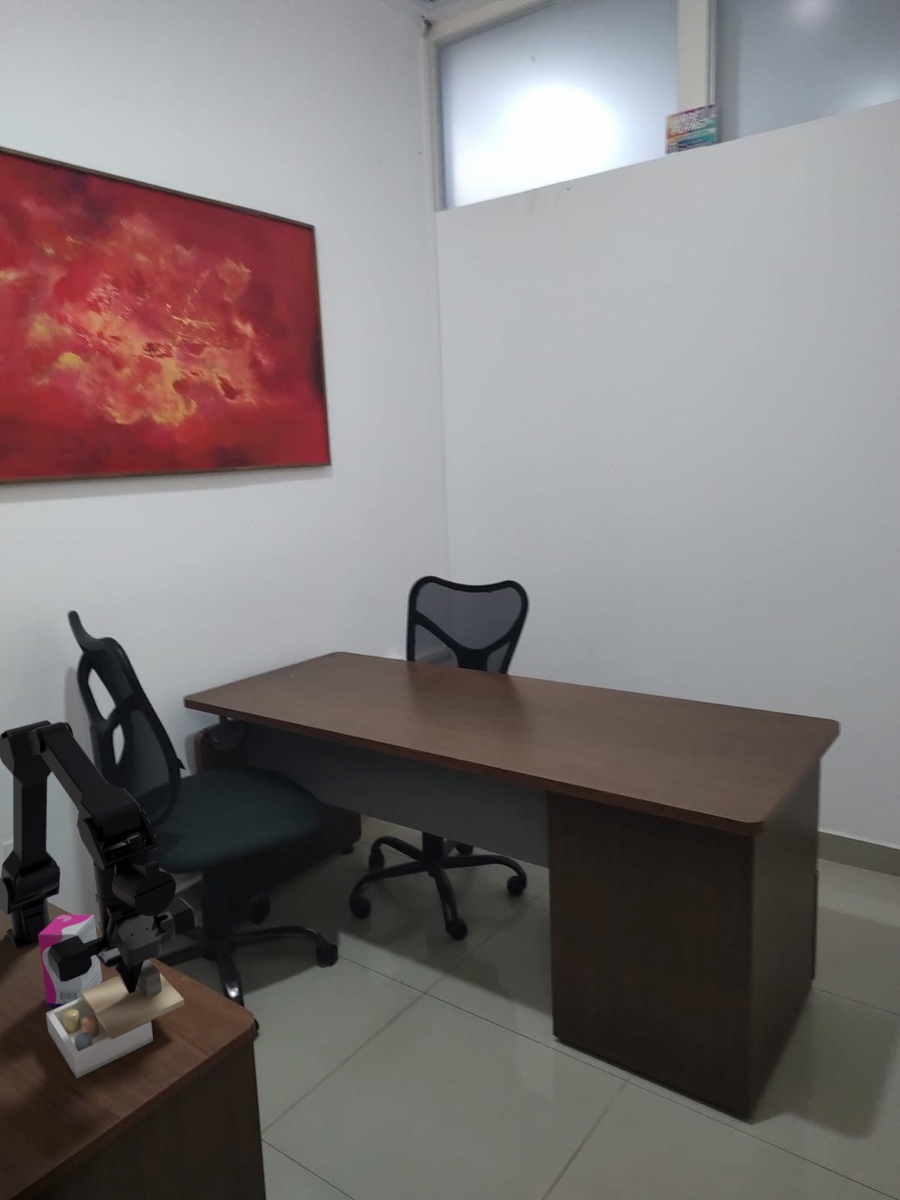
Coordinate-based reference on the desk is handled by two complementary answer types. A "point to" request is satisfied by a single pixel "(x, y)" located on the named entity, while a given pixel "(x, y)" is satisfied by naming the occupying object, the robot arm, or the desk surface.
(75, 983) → the supplement box
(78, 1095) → the desk surface
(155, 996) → the lid
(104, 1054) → the white storage tray
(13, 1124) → the desk surface
